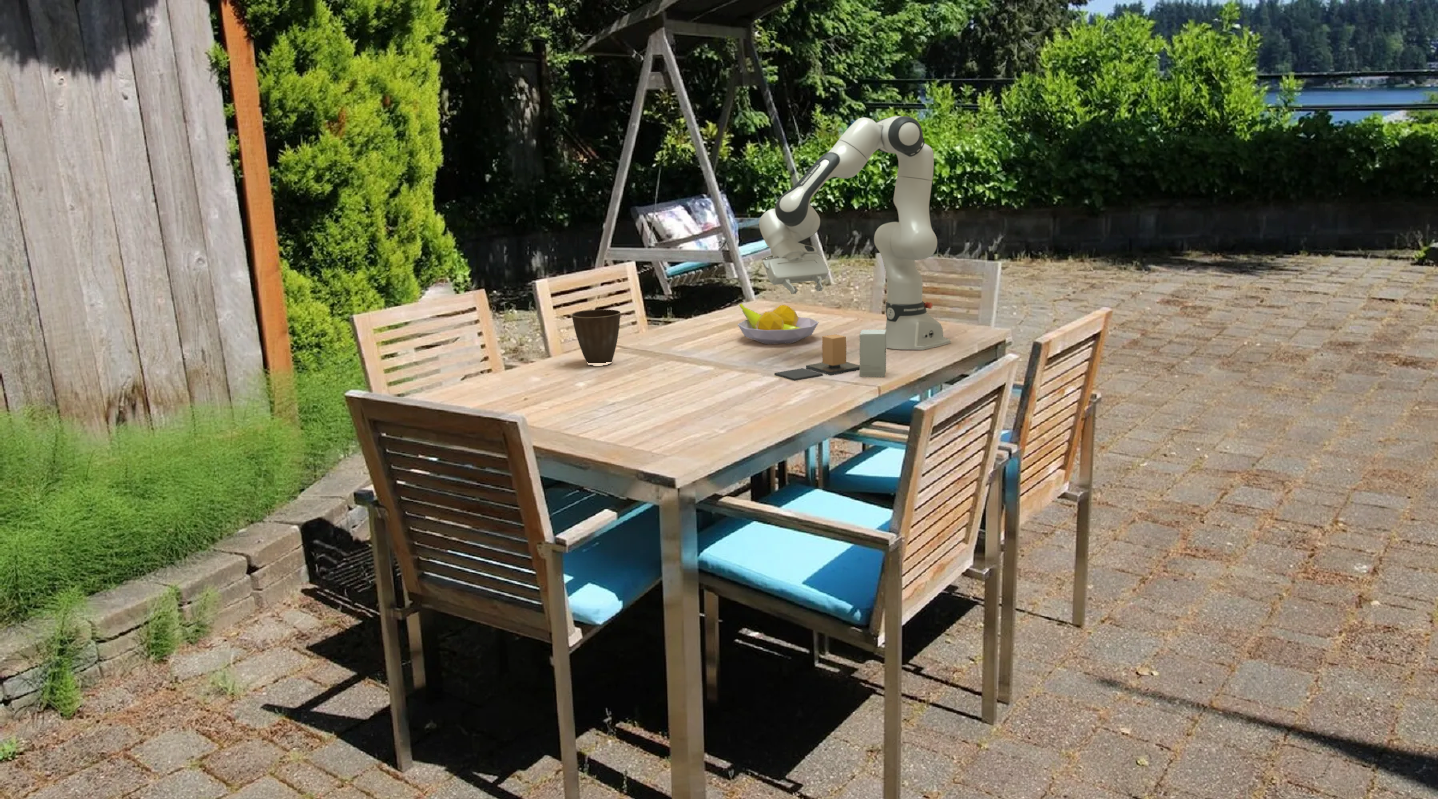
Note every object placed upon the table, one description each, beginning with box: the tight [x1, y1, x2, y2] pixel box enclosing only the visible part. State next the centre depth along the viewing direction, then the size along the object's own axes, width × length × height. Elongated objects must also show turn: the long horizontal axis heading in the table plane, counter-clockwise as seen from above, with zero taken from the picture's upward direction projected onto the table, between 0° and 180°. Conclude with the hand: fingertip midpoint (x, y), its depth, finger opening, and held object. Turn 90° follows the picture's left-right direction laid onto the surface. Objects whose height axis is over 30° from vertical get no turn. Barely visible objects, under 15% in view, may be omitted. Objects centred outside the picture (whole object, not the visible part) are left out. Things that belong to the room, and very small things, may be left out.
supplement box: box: [859, 329, 887, 378], centre depth 346 cm, size 7×7×13 cm
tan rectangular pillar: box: [821, 333, 847, 366], centre depth 354 cm, size 5×5×8 cm
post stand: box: [805, 361, 860, 376], centre depth 355 cm, size 12×12×9 cm
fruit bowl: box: [737, 303, 820, 345], centre depth 402 cm, size 28×27×11 cm
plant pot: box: [571, 309, 621, 363], centre depth 372 cm, size 15×15×16 cm
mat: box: [774, 367, 824, 382], centre depth 349 cm, size 10×10×1 cm
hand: (807, 291), depth 361 cm, fingers open, 8 cm apart
